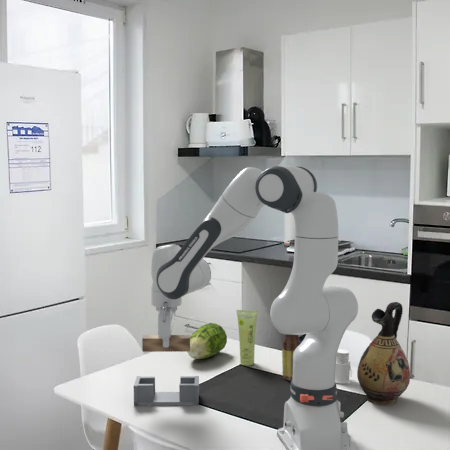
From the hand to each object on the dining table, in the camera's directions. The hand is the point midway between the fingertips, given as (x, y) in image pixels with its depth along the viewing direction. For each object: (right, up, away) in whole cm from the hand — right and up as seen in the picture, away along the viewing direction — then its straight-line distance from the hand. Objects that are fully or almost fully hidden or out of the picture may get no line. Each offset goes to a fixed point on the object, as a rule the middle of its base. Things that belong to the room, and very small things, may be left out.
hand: (166, 344), depth 183 cm
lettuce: (+10, -13, +42) cm, 45 cm away
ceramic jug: (+66, -18, +4) cm, 68 cm away
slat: (0, -2, 0) cm, 2 cm away
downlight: (+56, -16, +19) cm, 61 cm away
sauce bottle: (+40, -16, +21) cm, 47 cm away
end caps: (0, -17, +2) cm, 17 cm away
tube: (+25, -14, +35) cm, 45 cm away
